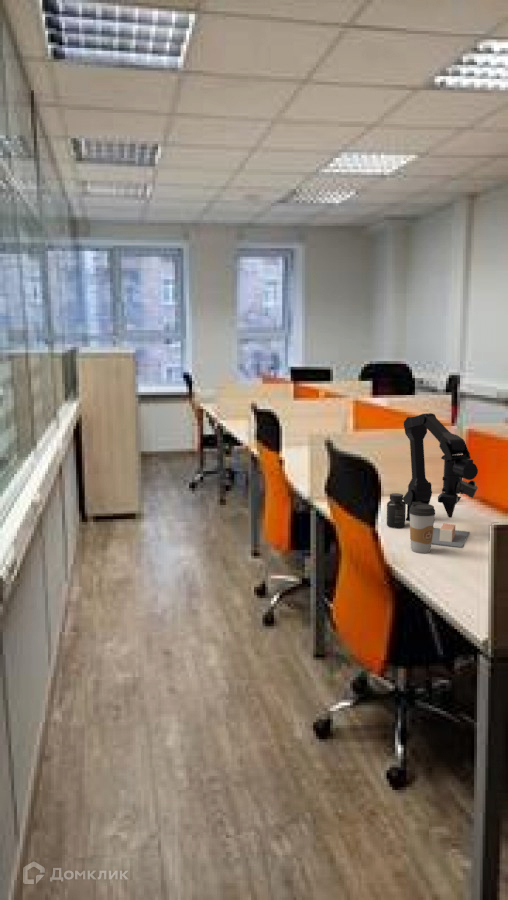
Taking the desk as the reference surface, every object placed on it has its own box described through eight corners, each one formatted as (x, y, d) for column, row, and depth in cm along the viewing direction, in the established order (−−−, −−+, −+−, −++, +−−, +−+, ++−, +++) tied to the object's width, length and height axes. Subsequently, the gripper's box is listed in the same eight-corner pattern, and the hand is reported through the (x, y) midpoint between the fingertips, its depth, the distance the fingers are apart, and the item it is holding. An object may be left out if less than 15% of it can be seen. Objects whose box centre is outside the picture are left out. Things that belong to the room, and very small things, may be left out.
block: (443, 534, 238) (439, 540, 231) (443, 523, 238) (440, 529, 231) (455, 535, 237) (451, 542, 230) (455, 524, 236) (452, 530, 229)
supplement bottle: (406, 524, 252) (408, 493, 250) (402, 529, 246) (404, 497, 244) (388, 522, 255) (389, 491, 253) (384, 527, 249) (385, 495, 247)
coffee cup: (419, 555, 217) (421, 510, 214) (402, 548, 224) (403, 504, 221) (439, 552, 221) (441, 507, 218) (421, 545, 228) (423, 501, 225)
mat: (422, 543, 230) (422, 542, 230) (432, 528, 247) (432, 527, 247) (461, 548, 225) (461, 546, 224) (469, 532, 242) (469, 531, 241)
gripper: (473, 481, 223) (470, 527, 226) (479, 470, 240) (477, 513, 242) (438, 478, 228) (436, 523, 230) (447, 468, 244) (445, 510, 247)
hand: (450, 517), depth 237 cm, fingers closed
